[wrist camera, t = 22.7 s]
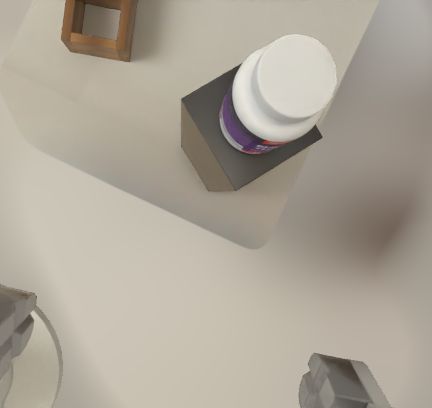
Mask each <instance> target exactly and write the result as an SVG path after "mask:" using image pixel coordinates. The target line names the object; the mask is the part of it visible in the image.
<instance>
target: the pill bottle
mask: <svg viewBox="0 0 432 408" xmlns="http://www.w3.org/2000/svg"><path fill="white" fill-rule="evenodd" d="M336 86H337V68H336V64H335V61H334V59H333V57H332V55H331V53H330V52H329V51H328V49H327V48H326V47H325V46H324V45H323V44H322V43H321V42H319V41H318V40H316V39H314V38H312V37H310V36H307V35H302V34H291V35H286V36H283V37H281V38H278V39H277V40H275V41H274V42H272V43H271V44H270V45H267V46H264V47H262V48H260V49H258V50H256V51H255V52H253V53H252V54H251V55H250V56H249V57H248V58H247V59H246V60H245V61H244V62H243V63H242V65H241V66H240V68H239V70H238V71H237V73H236V75H235V77H234V80H233V82H232V84H231V86H230V88H229V90H228V92H227V94H226V96H225V98H224V100H223V103H222V106H221V109H220V126H221V129H222V132H223V134H224V136H225V138H226V139H227V141H228V142H229V143H230V144H231V145H232V146H234V147H235V148H236V149H238V150H240V151H242V152H245V153H249V154H261V153H266V152H269V151H271V150H273V149H275V148H278V147H280V146H282V145H284V144H286V143H289V142H291V141H293V140H295V139H297V138H299V137H301V136H303V135H304V134H306V133H307V132H308V131H309V130H310V129H312V128H313V126H314V125H315V124H316V123H317V122H318V120H319V119H320V117H321V115H322V113H323V111H324V108H325V107H326V106H327V104H328V103H329V102H330V100H331V99H332V97H333V95H334V93H335V90H336Z"/></svg>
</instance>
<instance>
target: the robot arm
mask: <svg viewBox="0 0 432 408" xmlns="http://www.w3.org/2000/svg"><path fill="white" fill-rule="evenodd" d="M36 299H37V296H36V295H35V293H32V292H27V291H23V290H19V289H14V288H10V287H6V286H2V285H0V408H3V404H4V401H5V399H6V397H7V394H8V392H9V390H10V387H11V383H12V365H11V359H12V358H15V357H17V356H19V355H20V354H21V353H22V351H23V350H24V349H25V347H26V345H27V343H28V341H29V339H30V337H31V334H32V331H33V327H34V319H33V317H32V316H31V314H30V313H31V312H32V311H33V309H34V308H35V307H36ZM308 365H309V368H310V371H309V372H308V373H306V374H305V375H303V377H302V380H301V383H300V387H299V403H300V407H301V408H392V407H391V405H390V404H389V402H388V400H387V399H386V397H385V395H384V394H383V392H382V390H381V388H380V387H379V385H378V383H377V382H376V380H375V378H374V377H373V375H372V373H371V372H370V370H369V368H368V366H367V365H366V364H365V363H363V362H360V361H355V360H350V359H341V358H336V357H332V356H327V355H322V354H317V353H314V354H313V355H312V356H311V357H310V360H309V362H308Z"/></svg>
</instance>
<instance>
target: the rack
mask: <svg viewBox="0 0 432 408" xmlns="http://www.w3.org/2000/svg"><path fill="white" fill-rule="evenodd" d="M85 3H86V4H91V5H97V6H102V7H107V8H112V9H118V10H121V14H120V22H119V30H118V37H117V41H116V40H111V39H105V38H100V37H94V36H89V35H83V34H81V33H82V25H83V17H84V9H85ZM136 6H137V0H66V3H65V11H64V19H63V27H62V35H61V40H62V41H63V43H64V44H65V45H66V46H67V48H68V49H69V50H70V52H75V53H81V54H87V55H92V56H98V57H104V58H109V59H115V60H121V61H127V62H129V60H130V52H131V45H132V37H133V29H134V21H135V14H136Z"/></svg>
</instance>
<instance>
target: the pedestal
mask: <svg viewBox="0 0 432 408" xmlns="http://www.w3.org/2000/svg"><path fill="white" fill-rule="evenodd" d="M241 65H242V64H240V65H238V66H237V67H235V68H233V69H231V70H230V71H228V72H226V73H225V74H223V75H221V76H220V77H218V78H216V79H214V80H213V81H211V82H209V83H208V84H206V85H204V86H202V87H201V88H199V89H197V90H196V91H194V92H192V93H191V94H189V95H187V96H185V97H184V98H182V99H181V147H182V148H183V150H184V152H185V153H186V155H187V157H188V158H189V160H190V162H191V163H192V165H193V167H194V168H195V170H196V171H197V173H198V175H199V176H200V178H201V180H202V181H203V183H204V185H205V186H206V188H207V190H208V191H237V190H238V189H240V188H242V187H243V186H245V185H247V184H248V183H250V182H251V181H253V180H255V179H256V178H258V177H260V176H261V175H263V174H264V173H266V172H268V171H269V170H271V169H273V168H274V167H276V166H277V165H279V164H281V163H282V162H284V161H285V160H287V159H289V158H290V157H292V156H294V155H295V154H297V153H298V152H300V151H302V150H303V149H305V148H307V147H308V146H310V145H311V144H313V143H315V142H316V141H318V140H319V139H321V138H322V135H321V134H320V132H319V130H318V128H317V127H316V125H314V126H313V128H312V129H310V130H309V131H308V132H307V133H306V134H304V135H303V136H301V137H299V138H297V139H295V140H293V141H291V142H289V143H286V144H284V145H282V146H280V147H278V148H275V149H273V150H271V151H269V152H266V153H261V154H249V153H245V152H242V151H240V150H238V149H236V148H235V147H234V146H232V145H231V144H230V143H229V142H228V141H227V139H226V138H225V136H224V134H223V132H222V129H221V126H220V109H221V106H222V103H223V100H224V98H225V96H226V94H227V92H228V90H229V88H230V86H231V84H232V82H233V80H234V77H235V75H236V73H237V71H238V70H239V68H240V66H241Z"/></svg>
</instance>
